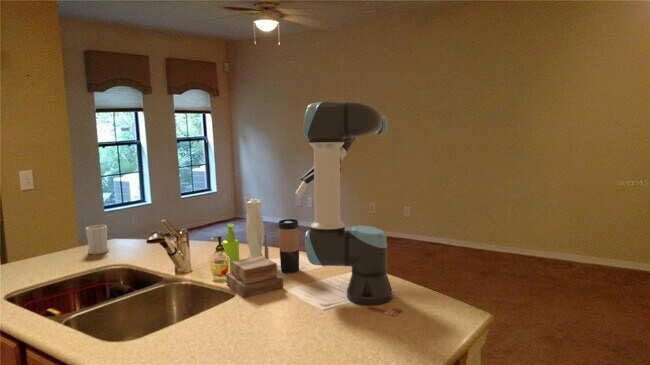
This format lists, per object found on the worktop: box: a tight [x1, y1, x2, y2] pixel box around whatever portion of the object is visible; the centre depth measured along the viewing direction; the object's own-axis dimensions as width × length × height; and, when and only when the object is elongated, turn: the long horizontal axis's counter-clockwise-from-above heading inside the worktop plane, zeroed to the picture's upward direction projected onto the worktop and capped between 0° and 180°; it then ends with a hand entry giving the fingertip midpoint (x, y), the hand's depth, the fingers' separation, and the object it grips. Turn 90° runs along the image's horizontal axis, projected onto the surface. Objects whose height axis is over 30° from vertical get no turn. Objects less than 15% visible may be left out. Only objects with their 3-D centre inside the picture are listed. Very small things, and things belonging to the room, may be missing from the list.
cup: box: [85, 224, 110, 255], centre depth 217 cm, size 10×9×12 cm
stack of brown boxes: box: [226, 255, 284, 299], centre depth 167 cm, size 15×15×9 cm
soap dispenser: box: [222, 222, 240, 274], centre depth 181 cm, size 6×7×20 cm
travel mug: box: [278, 218, 300, 274], centre depth 184 cm, size 8×8×20 cm
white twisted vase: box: [243, 196, 270, 260], centre depth 197 cm, size 8×8×28 cm
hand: (308, 197), depth 189 cm, fingers open, 13 cm apart
